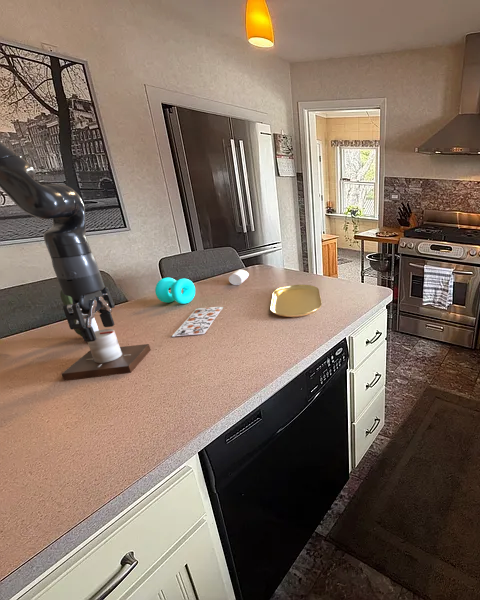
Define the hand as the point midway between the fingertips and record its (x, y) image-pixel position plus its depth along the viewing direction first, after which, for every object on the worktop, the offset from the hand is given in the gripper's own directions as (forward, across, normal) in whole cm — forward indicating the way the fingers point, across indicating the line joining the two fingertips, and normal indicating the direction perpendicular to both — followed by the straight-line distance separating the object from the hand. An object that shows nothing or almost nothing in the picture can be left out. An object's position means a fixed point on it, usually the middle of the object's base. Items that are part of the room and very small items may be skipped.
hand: (100, 333), depth 83 cm
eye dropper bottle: (+9, -17, -12) cm, 23 cm away
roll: (+9, -70, +21) cm, 74 cm away
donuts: (+9, -46, +2) cm, 47 cm away
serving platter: (+10, -36, +47) cm, 60 cm away
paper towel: (+9, -25, +15) cm, 30 cm away
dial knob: (+7, 0, 0) cm, 7 cm away
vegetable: (+9, -21, -16) cm, 28 cm away
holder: (+9, 0, 0) cm, 9 cm away
